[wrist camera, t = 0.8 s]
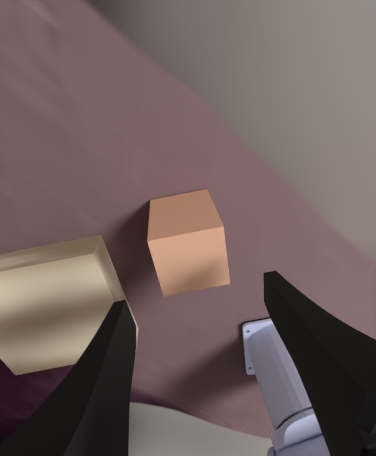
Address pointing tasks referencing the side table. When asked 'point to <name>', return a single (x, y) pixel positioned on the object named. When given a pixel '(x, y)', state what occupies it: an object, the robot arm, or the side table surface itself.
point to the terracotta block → (187, 243)
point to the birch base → (54, 302)
